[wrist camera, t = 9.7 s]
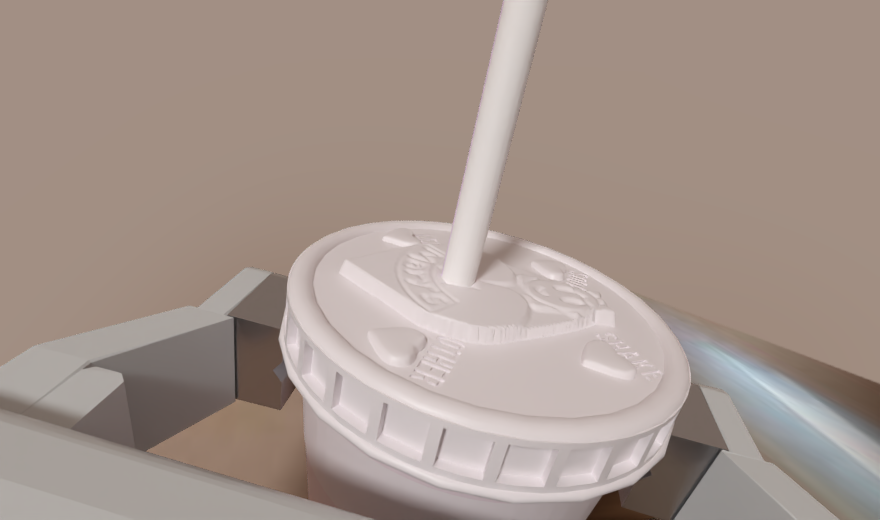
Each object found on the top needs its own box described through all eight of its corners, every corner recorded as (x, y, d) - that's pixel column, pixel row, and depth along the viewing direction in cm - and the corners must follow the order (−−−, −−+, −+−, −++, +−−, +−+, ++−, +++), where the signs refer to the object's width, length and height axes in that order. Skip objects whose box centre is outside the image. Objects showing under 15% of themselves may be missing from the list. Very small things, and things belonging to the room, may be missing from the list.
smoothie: (291, 507, 14) (349, -32, 8) (499, 526, 15) (676, 47, 9) (203, 837, 8) (206, -203, 3) (555, 838, 9) (1120, 48, 3)
